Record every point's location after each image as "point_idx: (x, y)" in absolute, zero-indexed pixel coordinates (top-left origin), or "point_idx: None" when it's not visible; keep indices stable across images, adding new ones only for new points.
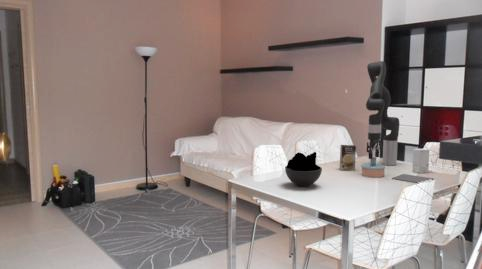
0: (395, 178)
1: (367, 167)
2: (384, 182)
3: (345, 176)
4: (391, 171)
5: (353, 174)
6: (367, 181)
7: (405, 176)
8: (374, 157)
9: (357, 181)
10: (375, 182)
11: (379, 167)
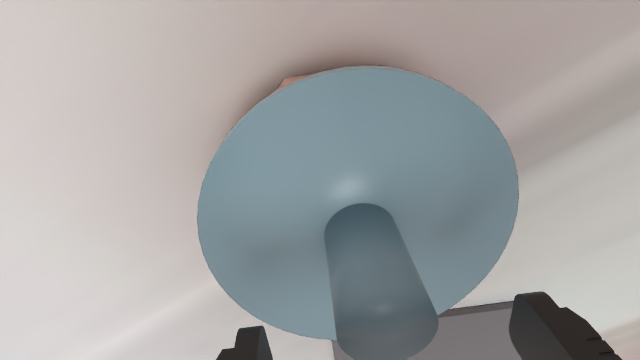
0: (339, 348)
1: (203, 251)
2: (194, 349)
3: (6, 20)
4: (628, 183)
5: (190, 11)
6: (95, 281)
7: (453, 349)
8: (409, 335)
9: (3, 240)
10: (133, 323)
11: (310, 327)
